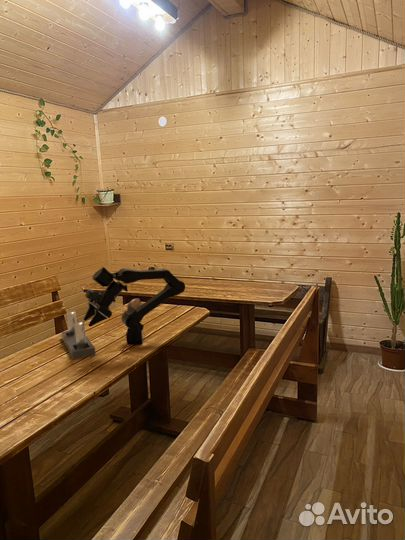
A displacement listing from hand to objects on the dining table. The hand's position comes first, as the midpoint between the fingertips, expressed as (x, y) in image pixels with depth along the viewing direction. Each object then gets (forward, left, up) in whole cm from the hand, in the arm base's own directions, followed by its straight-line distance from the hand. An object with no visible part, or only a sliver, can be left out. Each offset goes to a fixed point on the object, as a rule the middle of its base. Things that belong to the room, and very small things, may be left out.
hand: (86, 323), depth 163 cm
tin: (-14, -51, -13) cm, 54 cm away
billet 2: (+3, +1, -13) cm, 13 cm away
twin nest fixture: (+7, -7, -13) cm, 16 cm away
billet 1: (+10, -15, -13) cm, 22 cm away
